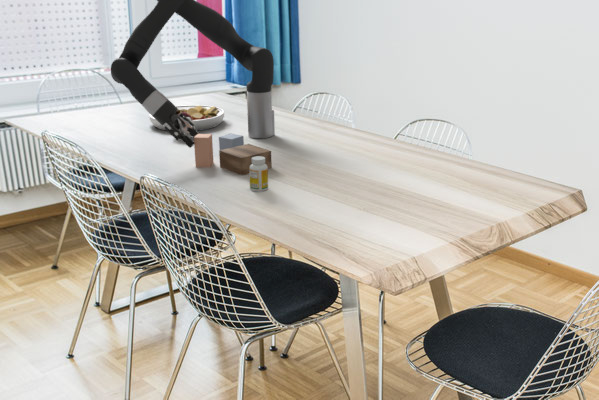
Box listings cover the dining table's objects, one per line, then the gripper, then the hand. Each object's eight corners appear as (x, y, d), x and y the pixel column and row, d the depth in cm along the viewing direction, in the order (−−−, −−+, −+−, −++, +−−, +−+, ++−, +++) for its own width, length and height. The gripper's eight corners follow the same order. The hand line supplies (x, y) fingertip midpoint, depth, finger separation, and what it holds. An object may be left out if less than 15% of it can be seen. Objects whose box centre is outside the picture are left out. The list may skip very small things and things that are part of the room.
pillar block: (199, 162, 238) (197, 133, 234) (213, 163, 237) (211, 134, 234) (195, 167, 233) (193, 137, 230) (209, 167, 233) (208, 137, 229)
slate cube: (231, 149, 253) (230, 133, 251) (244, 152, 250) (243, 135, 248) (219, 153, 249) (218, 136, 247) (232, 156, 245) (231, 139, 243)
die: (185, 143, 264) (198, 121, 264) (165, 132, 264) (178, 109, 264) (188, 146, 272) (201, 124, 272) (169, 134, 272) (181, 112, 272)
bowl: (153, 117, 303) (152, 99, 300) (224, 115, 306) (223, 97, 303) (147, 135, 275) (145, 115, 272) (225, 132, 278) (224, 112, 275)
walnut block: (249, 161, 240) (248, 143, 238) (271, 168, 232) (271, 150, 230) (220, 168, 233) (219, 150, 231) (241, 176, 224) (241, 157, 222)
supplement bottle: (251, 192, 208) (250, 161, 205) (249, 186, 213) (247, 156, 210) (269, 191, 209) (268, 159, 206) (266, 185, 214) (266, 154, 211)
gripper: (160, 103, 223) (197, 140, 225) (173, 94, 236) (209, 129, 238) (145, 120, 225) (182, 155, 228) (159, 110, 239) (194, 144, 241)
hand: (196, 142), depth 233 cm, fingers open, 8 cm apart
